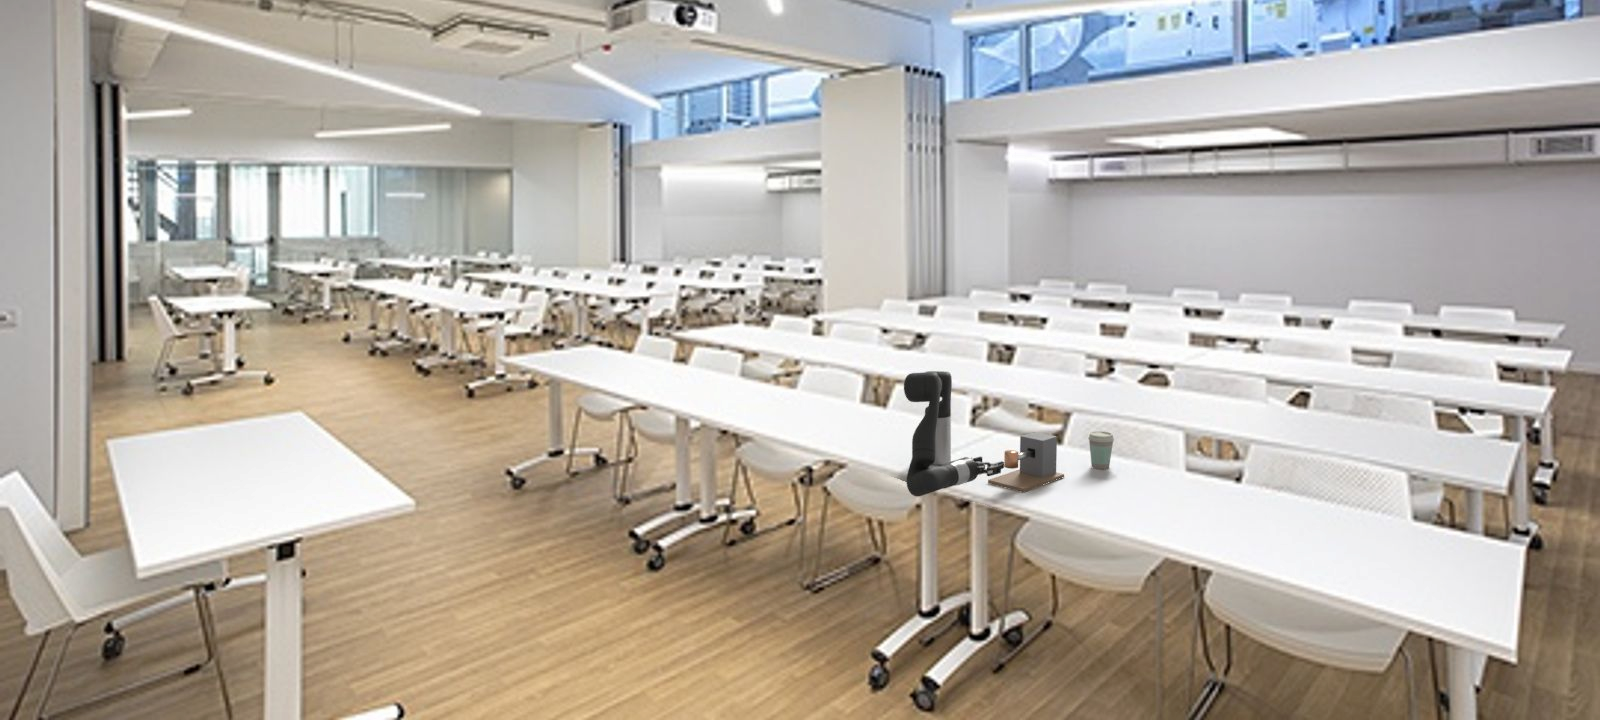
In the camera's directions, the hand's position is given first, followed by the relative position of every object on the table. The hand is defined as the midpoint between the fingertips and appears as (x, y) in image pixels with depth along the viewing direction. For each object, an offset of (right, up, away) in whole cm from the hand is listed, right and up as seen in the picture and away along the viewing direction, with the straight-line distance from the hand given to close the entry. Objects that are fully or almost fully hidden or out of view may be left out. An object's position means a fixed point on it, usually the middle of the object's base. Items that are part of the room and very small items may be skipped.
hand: (992, 462), depth 290 cm
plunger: (+11, -2, +10) cm, 16 cm away
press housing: (+14, -8, +14) cm, 21 cm away
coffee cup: (+44, -5, +27) cm, 52 cm away
